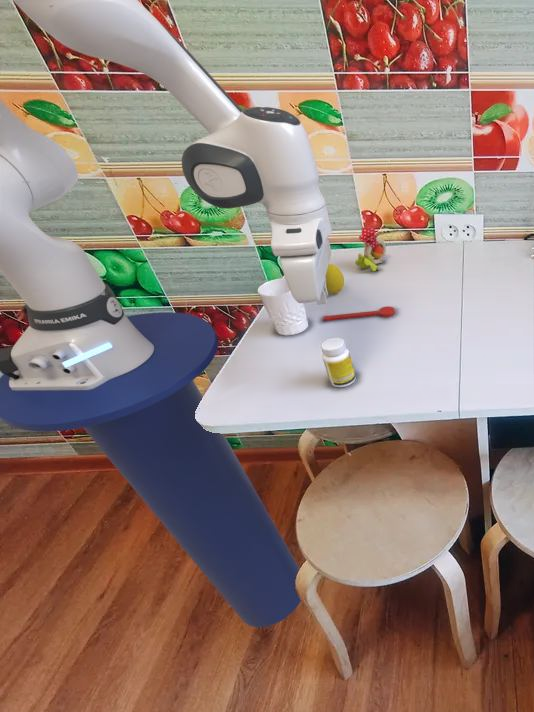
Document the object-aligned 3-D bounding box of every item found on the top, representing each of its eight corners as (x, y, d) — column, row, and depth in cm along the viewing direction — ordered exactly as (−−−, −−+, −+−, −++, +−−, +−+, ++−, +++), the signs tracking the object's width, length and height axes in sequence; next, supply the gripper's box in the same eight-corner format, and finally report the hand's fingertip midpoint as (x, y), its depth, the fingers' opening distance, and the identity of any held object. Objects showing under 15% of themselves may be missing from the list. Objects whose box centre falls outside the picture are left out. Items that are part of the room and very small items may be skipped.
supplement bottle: (361, 378, 88) (351, 342, 83) (341, 391, 86) (329, 354, 80) (345, 369, 91) (334, 333, 85) (325, 382, 88) (312, 345, 82)
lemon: (328, 288, 117) (320, 258, 112) (350, 289, 117) (342, 258, 111) (320, 299, 112) (311, 268, 107) (343, 299, 112) (335, 269, 107)
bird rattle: (372, 268, 130) (349, 267, 122) (375, 227, 127) (352, 224, 119) (390, 272, 128) (368, 272, 120) (394, 231, 125) (371, 228, 117)
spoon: (323, 323, 104) (322, 320, 103) (325, 315, 107) (324, 312, 106) (395, 316, 106) (394, 313, 106) (394, 308, 109) (394, 305, 108)
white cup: (278, 341, 98) (261, 299, 92) (270, 325, 104) (254, 284, 97) (315, 330, 102) (302, 289, 95) (306, 314, 107) (292, 274, 101)
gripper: (291, 204, 82) (311, 276, 91) (268, 250, 67) (295, 332, 75) (328, 202, 83) (345, 273, 92) (314, 247, 68) (335, 328, 76)
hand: (322, 300), depth 83 cm, fingers closed
